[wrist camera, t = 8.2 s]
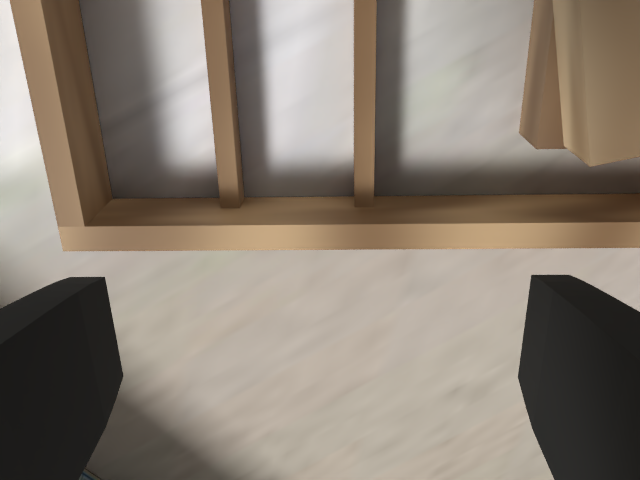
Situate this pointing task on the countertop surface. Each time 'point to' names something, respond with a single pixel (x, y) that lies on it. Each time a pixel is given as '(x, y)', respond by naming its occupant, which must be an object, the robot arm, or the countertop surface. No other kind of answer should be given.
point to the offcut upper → (599, 78)
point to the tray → (232, 207)
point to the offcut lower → (542, 83)
